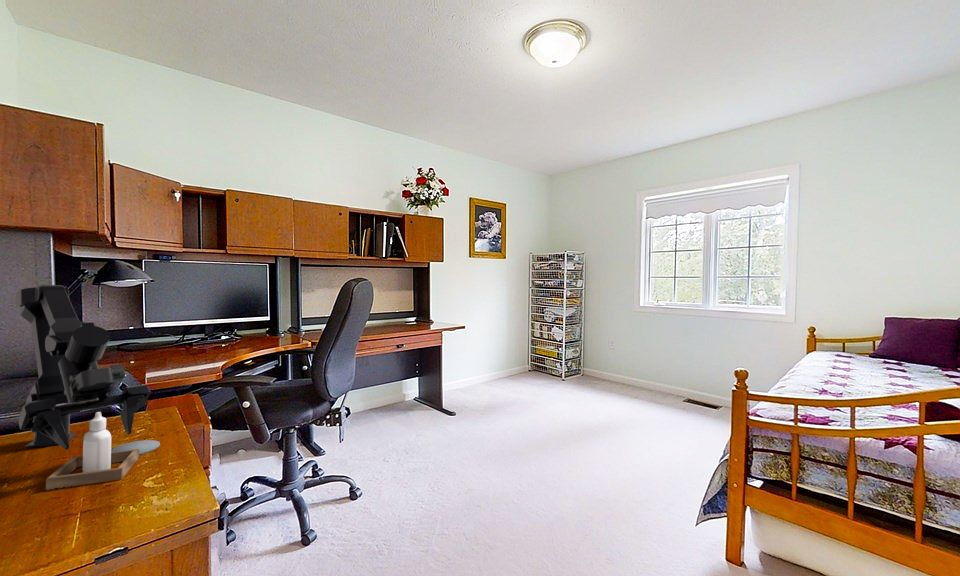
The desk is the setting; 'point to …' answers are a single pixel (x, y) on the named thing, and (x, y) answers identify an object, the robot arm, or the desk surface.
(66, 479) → the walnut collar
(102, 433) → the eye dropper bottle
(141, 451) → the rubber coaster
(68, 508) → the desk surface
